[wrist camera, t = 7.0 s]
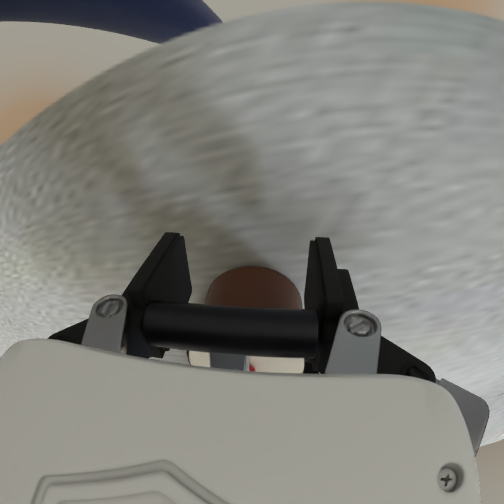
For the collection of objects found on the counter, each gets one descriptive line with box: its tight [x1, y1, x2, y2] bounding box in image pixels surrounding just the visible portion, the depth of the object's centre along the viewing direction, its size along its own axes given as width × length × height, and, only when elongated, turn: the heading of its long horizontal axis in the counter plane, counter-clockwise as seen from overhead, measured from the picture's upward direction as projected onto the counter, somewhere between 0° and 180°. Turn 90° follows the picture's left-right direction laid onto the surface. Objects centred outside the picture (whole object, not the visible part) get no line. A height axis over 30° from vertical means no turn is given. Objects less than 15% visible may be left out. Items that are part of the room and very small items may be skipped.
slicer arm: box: [142, 300, 319, 371], centre depth 10 cm, size 15×5×2 cm, turn 1°
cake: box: [189, 266, 304, 374], centre depth 15 cm, size 6×6×6 cm
